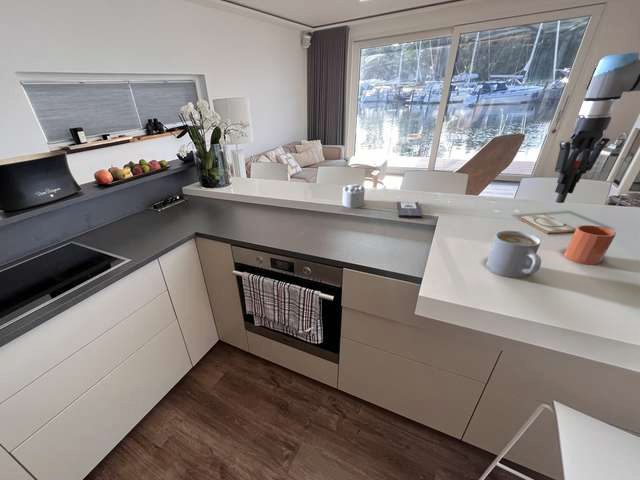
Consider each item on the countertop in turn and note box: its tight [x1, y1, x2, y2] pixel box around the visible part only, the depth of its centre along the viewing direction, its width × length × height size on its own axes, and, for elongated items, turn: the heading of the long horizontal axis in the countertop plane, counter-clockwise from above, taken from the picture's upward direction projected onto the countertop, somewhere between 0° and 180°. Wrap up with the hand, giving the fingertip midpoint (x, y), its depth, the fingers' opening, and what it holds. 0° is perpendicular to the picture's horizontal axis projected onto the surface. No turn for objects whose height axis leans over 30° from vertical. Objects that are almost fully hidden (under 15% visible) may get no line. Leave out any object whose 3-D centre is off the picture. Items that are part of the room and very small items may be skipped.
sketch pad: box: [515, 213, 577, 235], centre depth 106 cm, size 20×16×1 cm
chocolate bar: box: [396, 201, 423, 219], centre depth 129 cm, size 9×1×18 cm
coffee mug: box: [485, 230, 542, 279], centre depth 80 cm, size 13×10×10 cm
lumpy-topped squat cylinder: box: [342, 183, 366, 209], centre depth 142 cm, size 10×13×9 cm
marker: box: [555, 159, 581, 204], centre depth 97 cm, size 2×2×14 cm
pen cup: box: [563, 224, 617, 266], centre depth 83 cm, size 8×8×9 cm
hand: (563, 192), depth 98 cm, fingers closed on marker, 2 cm apart
